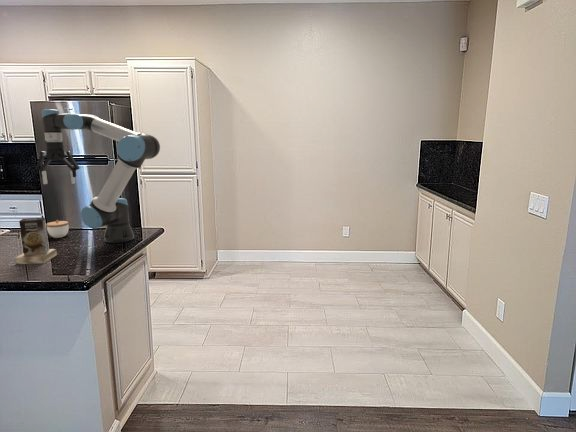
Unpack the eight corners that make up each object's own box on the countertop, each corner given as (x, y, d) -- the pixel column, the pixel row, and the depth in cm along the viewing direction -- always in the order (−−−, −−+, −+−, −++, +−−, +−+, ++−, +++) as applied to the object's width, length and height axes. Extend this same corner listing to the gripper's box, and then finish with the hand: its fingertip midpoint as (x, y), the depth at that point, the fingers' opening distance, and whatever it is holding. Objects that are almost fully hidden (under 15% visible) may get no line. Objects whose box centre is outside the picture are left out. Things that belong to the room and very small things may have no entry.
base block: (57, 254, 184) (56, 248, 183) (44, 263, 172) (43, 256, 172) (30, 255, 183) (29, 249, 182) (15, 264, 171) (14, 257, 171)
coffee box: (23, 256, 172) (18, 221, 169) (27, 252, 178) (21, 218, 175) (47, 253, 176) (42, 219, 172) (49, 249, 182) (45, 216, 178)
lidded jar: (51, 234, 220) (49, 218, 218) (72, 233, 223) (70, 217, 221) (45, 239, 210) (42, 222, 208) (67, 238, 213) (64, 221, 211)
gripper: (23, 141, 187) (29, 185, 191) (77, 141, 189) (82, 184, 194) (31, 141, 194) (37, 183, 199) (83, 141, 196) (88, 182, 201)
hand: (59, 183), depth 196 cm, fingers open, 13 cm apart
